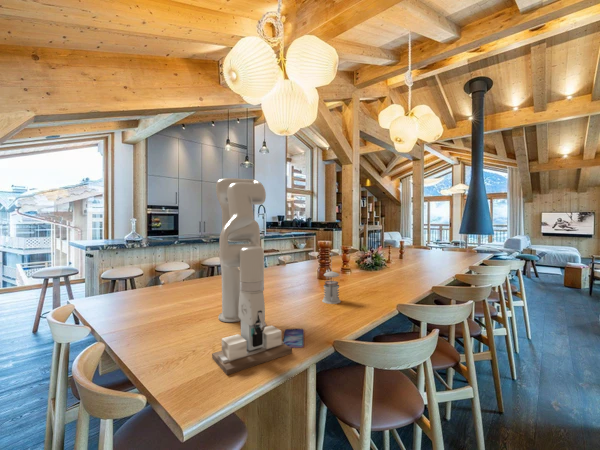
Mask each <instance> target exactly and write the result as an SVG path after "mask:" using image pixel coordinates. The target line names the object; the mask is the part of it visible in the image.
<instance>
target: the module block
mask: <svg viewBox="0 0 600 450" xmlns="http://www.w3.org/2000/svg"><path fill="white" fill-rule="evenodd" d="M256 323H259V321H256ZM258 327H259V325H256V329H257V328H258ZM253 334H254V331H253V326H250V325H248V324H247V323H245V322H244V321H242V320H241V321H240V336H241V337H243V338H244V339H245V340H246V341H247V349H248V350H249V351H250V350H254V349H257V348H260V347H263V346H264V330H263V344H262V345H260V346H256V347H253Z"/></svg>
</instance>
